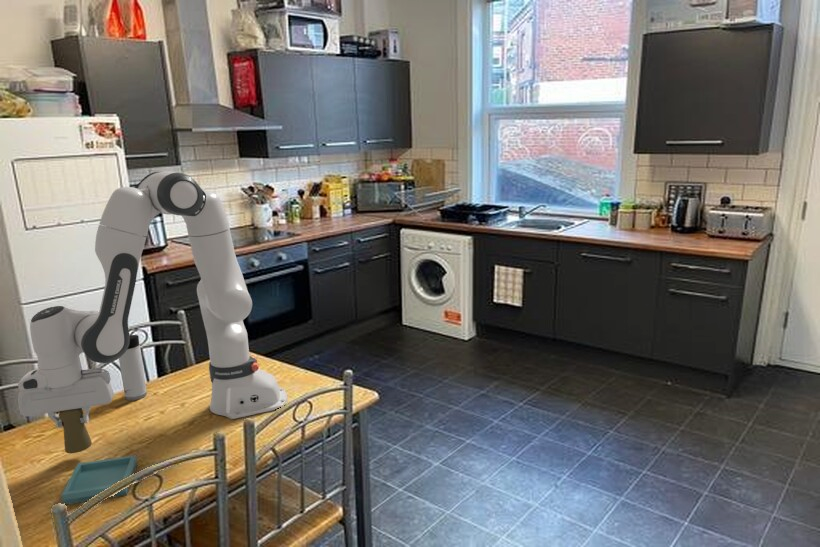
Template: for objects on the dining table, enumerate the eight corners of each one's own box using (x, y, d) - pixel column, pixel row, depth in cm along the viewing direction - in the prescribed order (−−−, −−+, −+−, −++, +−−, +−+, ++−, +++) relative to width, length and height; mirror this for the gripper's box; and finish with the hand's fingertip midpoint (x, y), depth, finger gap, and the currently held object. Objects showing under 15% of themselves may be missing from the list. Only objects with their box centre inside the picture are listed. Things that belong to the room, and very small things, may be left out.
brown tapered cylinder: (80, 454, 145) (71, 413, 143) (59, 452, 147) (49, 412, 144) (97, 441, 151) (89, 401, 148) (77, 439, 152) (68, 400, 150)
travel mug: (124, 402, 180) (115, 340, 175) (125, 394, 186) (115, 333, 181) (147, 398, 182) (138, 337, 177) (146, 390, 188) (138, 330, 183)
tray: (137, 464, 147) (135, 455, 146) (126, 495, 134) (125, 485, 134) (79, 472, 144) (77, 463, 143) (63, 505, 131) (61, 495, 131)
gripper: (110, 361, 149) (120, 411, 152) (19, 374, 144) (32, 425, 148) (105, 371, 143) (115, 423, 146) (10, 385, 138) (23, 437, 142)
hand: (73, 424), depth 147 cm, fingers closed on brown tapered cylinder, 4 cm apart
